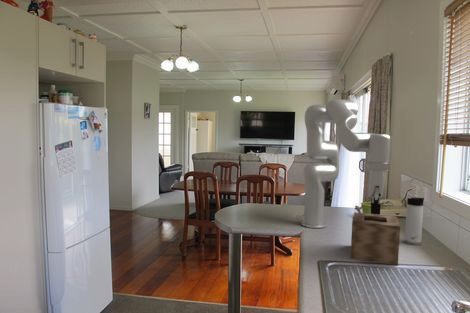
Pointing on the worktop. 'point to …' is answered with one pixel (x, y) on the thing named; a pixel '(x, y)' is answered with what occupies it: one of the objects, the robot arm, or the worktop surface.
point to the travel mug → (414, 221)
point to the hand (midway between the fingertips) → (375, 211)
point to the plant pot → (366, 207)
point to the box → (375, 238)
